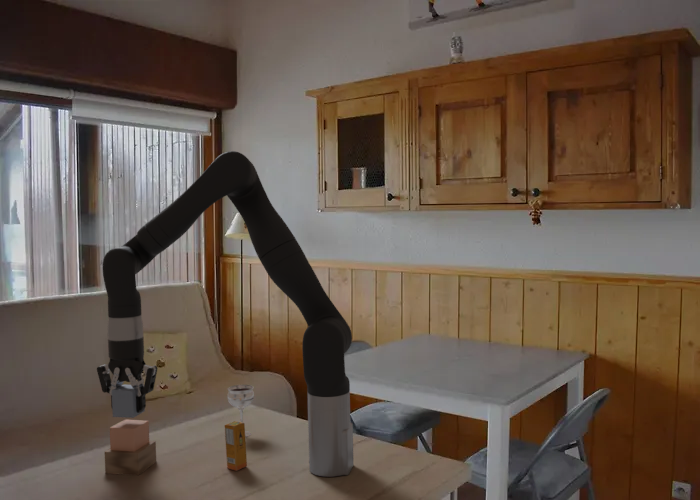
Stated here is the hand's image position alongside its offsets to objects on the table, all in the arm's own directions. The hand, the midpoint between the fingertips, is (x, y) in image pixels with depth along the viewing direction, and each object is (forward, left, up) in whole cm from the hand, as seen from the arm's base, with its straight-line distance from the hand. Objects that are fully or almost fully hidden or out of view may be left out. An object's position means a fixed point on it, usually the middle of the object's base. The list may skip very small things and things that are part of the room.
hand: (128, 411), depth 147 cm
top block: (0, 0, -8) cm, 8 cm away
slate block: (0, 0, -1) cm, 1 cm away
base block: (0, 0, -13) cm, 13 cm away
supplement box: (-24, -3, -13) cm, 27 cm away
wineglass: (-17, -25, -13) cm, 33 cm away
